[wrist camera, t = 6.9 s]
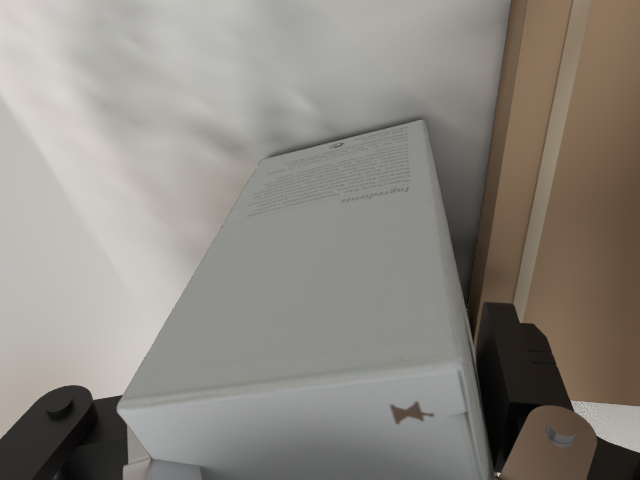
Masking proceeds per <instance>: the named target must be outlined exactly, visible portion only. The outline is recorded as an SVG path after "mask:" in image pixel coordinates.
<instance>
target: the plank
mask: <svg viewBox="0 0 640 480" xmlns="http://www.w3.org/2000/svg"><path fill="white" fill-rule="evenodd" d="M484 302H497V303H512V304H514V306H515V309H516V312H517V315H518V319H519V322H520V323H532V324H535V326H536V327H537V328H538V329H539V330H540V331H541V332H542V333H543V334H544V335H545V336H546V337H547V339H548V342H549V345H550V347H551V350H552V355H554V358H555V361H556V364H557V367H558V369H559V372H560V374H561V377H562V380H563V382H564V385H565V388H566V391H567V393H568V396H569V399H570V400H572V401H584V402H596V403H608V404H620V405H632V406H640V0H511V7H510V14H509V21H508V28H507V35H506V42H505V49H504V56H503V63H502V70H501V77H500V84H499V91H498V97H497V104H496V111H495V118H494V125H493V132H492V139H491V146H490V153H489V160H488V167H487V174H486V181H485V188H484V195H483V202H482V209H481V216H480V223H479V230H478V237H477V244H476V251H475V258H474V265H473V272H472V279H471V286H470V293H469V299H468V306H467V315H468V320H469V325H470V330H471V335H472V340H473V346H474V351H475V357H476V343H477V337H478V331H479V325H480V319H481V313H482V307H483V304H484Z"/></svg>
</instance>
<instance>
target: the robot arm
mask: <svg viewBox="0 0 640 480" xmlns="http://www.w3.org/2000/svg"><path fill="white" fill-rule="evenodd" d="M476 370H477V376H478V382H479V387H480V393H481V399H482V405H483V411H484V416H485V422H486V427H487V433H488V438H489V444H490V449H491V455H492V460H493V466H494V472H498V473H501V474H500V476H499V477H498V476H495V477H494V479H493V480H640V453H638V452H635V451H632V450H629V449H626V448H623V447H621V446H618V445H615V444H612V443H610V442H607V441H605V440H603V439H601V438H599V437H598V436H596V434H595V432H594V430H593V428H592V427H591V425H590V424H589V423H588V422H587V421H586V420H585V419H584V418H582V417H581V416H580V415H578V414H577V413H575V412H574V409H573V407H572V404H571V401H570V399H569V396H568V393H567V391H566V388H565V385H564V382H563V380H562V377H561V374H560V372H559V369H558V367H557V364H556V361H555V358H554V355H552V350H551V347H550V345H549V342H548V339H547V337H546V336H545V335H544V334H543V333H542V332H541V331H540V330H539V329H538V328H537V327H536V326H535V324H532V323H520V322H519V319H518V315H517V312H516V309H515V306H514V304H512V303H497V302H484V304H483V307H482V313H481V319H480V325H479V331H478V337H477V343H476ZM122 396H123V395H121V396H115V397H109V398H103V399H98V400H93V398H92V395H91V393H90V391H89V390H88V389H86V388H84V387H82V386H76V385H71V386H64V387H61V388H58V389H55V390H52V391H50V392H48V393H47V394H45V395H44V396H42V397H41V398H40V399H38V400H37V401H36V402H35V403H34V404H33V405H32V406H31V407H30V409H29V410H28V411H27V412H26V413H25V414H24V415H23V416H22V417H21V418H20V419H19V420H18V421H17V422H16V423H15V424H14V425H13V426H12V428H11V429H10V430H9V431H8V432H7V433H6V434H5V435H4V436H3V437H2V438H1V439H0V480H203V479H202V475H201V470H200V466H199V465H193V464H186V463H179V462H173V461H165V460H153V459H152V458H151V457H150V456H149V455H148V453H147V452H146V450H145V449H144V448H143V446H142V445H141V443H140V442H139V441H138V439H137V438H136V436H135V435H134V434H133V432H132V431H131V429H130V428H129V427H128V425H127V424H126V423H125V421H124V420H123V419H122V417H121V416H120V415H119V414H118V413H117V405H118V403H119V401H120V399H121V398H122Z"/></svg>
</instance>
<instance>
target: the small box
mask: <svg viewBox="0 0 640 480" xmlns="http://www.w3.org/2000/svg"><path fill="white" fill-rule="evenodd" d="M117 413H118V414H119V415H120V416H121V417H122V419H123V420H124V421H125V423H126V424H127V425H128V427H129V428H130V429H131V431H132V432H133V434H134V435H135V436H136V438H137V439H138V441H139V442H140V443H141V445H142V446H143V448H144V449H145V450H146V452H147V453H148V455H149V456H150V457H151V458H152V459H153V460H165V461H173V462H179V463H186V464H193V465H199V466H200V470H201V475H202V479H203V480H493V479H494V477H495V476H497V472H494V466H493V460H492V455H491V449H490V444H489V438H488V433H487V427H486V422H485V416H484V411H483V405H482V399H481V393H480V387H479V382H478V376H477V370H476V357H475V351H474V346H473V340H472V335H471V330H470V325H469V320H468V315H467V311H466V306H465V302H464V297H463V292H462V288H461V283H460V278H459V274H458V269H457V265H456V260H455V256H454V251H453V247H452V242H451V237H450V232H449V228H448V223H447V218H446V213H445V209H444V204H443V199H442V194H441V190H440V185H439V180H438V176H437V171H436V167H435V162H434V157H433V153H432V148H431V144H430V139H429V134H428V130H427V125H426V122H425V121H424V120H417V121H414V122H410V123H406V124H403V125H399V126H394V127H390V128H386V129H382V130H378V131H374V132H370V133H366V134H362V135H358V136H354V137H350V138H346V139H342V140H338V141H334V142H330V143H326V144H322V145H318V146H315V147H311V148H307V149H303V150H299V151H295V152H291V153H287V154H283V155H279V156H275V157H271V158H267V159H263V160H262V161H261V162H260V163H259V165H258V166H257V168H256V170H255V172H254V173H253V175H252V176H251V178H250V180H249V181H248V183H247V185H246V187H245V188H244V190H243V192H242V193H241V195H240V197H239V199H238V200H237V202H236V203H235V205H234V207H233V208H232V210H231V212H230V214H229V216H228V217H227V219H226V221H225V222H224V224H223V226H222V227H221V229H220V231H219V232H218V234H217V236H216V237H215V239H214V241H213V242H212V244H211V246H210V247H209V249H208V251H207V253H206V254H205V256H204V258H203V260H202V261H201V263H200V265H199V266H198V268H197V270H196V271H195V273H194V275H193V276H192V278H191V280H190V281H189V283H188V285H187V287H186V288H185V290H184V292H183V293H182V295H181V297H180V298H179V300H178V302H177V303H176V305H175V307H174V309H173V310H172V312H171V314H170V315H169V317H168V319H167V320H166V322H165V324H164V326H163V327H162V329H161V331H160V332H159V334H158V336H157V338H156V339H155V341H154V343H153V345H152V347H151V348H150V350H149V352H148V353H147V355H146V357H145V358H144V360H143V361H142V363H141V365H140V367H139V368H138V370H137V372H136V373H135V375H134V377H133V379H132V380H131V382H130V384H129V386H128V387H127V389H126V391H125V393H124V394H123V396H122V398H121V399H120V401H119V403H118V405H117Z"/></svg>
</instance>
